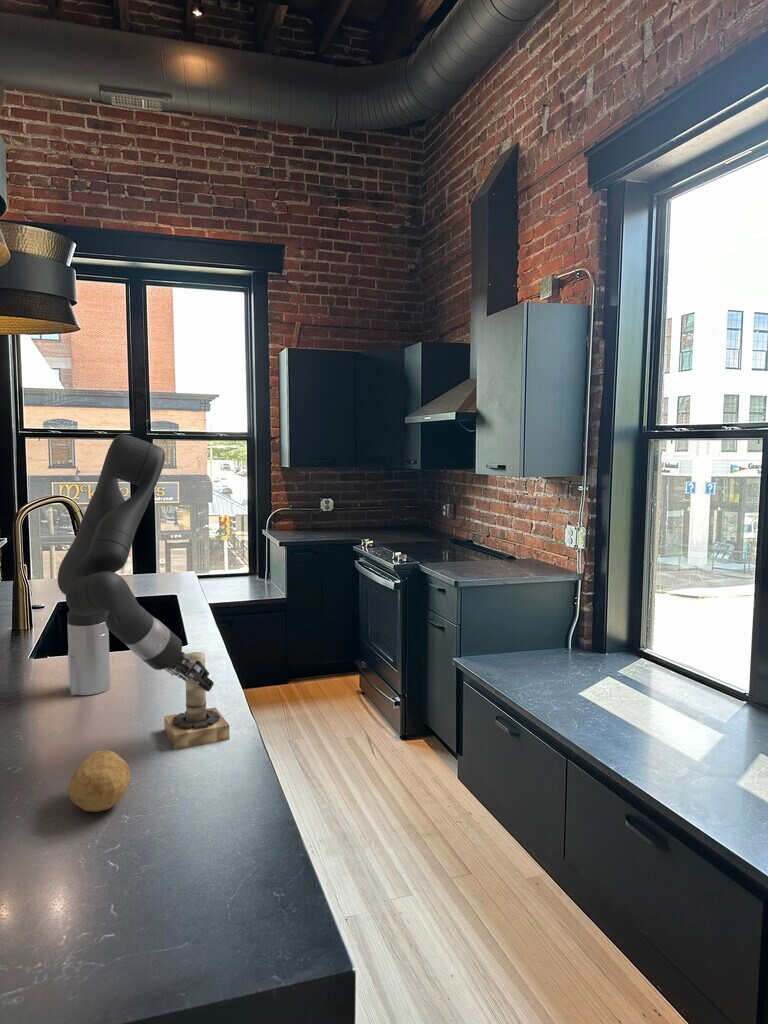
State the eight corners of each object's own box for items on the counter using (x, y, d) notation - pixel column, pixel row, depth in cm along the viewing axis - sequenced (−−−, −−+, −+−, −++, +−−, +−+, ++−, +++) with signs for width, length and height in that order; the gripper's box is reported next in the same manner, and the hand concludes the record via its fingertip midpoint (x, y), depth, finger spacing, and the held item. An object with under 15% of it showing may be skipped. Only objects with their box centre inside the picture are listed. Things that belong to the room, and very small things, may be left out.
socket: (175, 749, 139) (174, 732, 139) (164, 729, 149) (164, 713, 149) (229, 739, 145) (229, 722, 144) (215, 720, 154) (215, 704, 154)
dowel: (188, 725, 144) (187, 658, 142) (184, 718, 147) (183, 653, 146) (208, 721, 146) (207, 656, 144) (203, 715, 149) (202, 651, 148)
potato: (130, 780, 127) (129, 737, 126) (132, 819, 114) (131, 772, 113) (71, 789, 123) (69, 746, 123) (67, 830, 110) (65, 782, 110)
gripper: (187, 631, 134) (235, 676, 145) (142, 620, 143) (191, 663, 153) (164, 665, 130) (216, 708, 141) (119, 651, 139) (171, 693, 150)
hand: (203, 684), depth 147 cm, fingers closed on dowel, 4 cm apart
